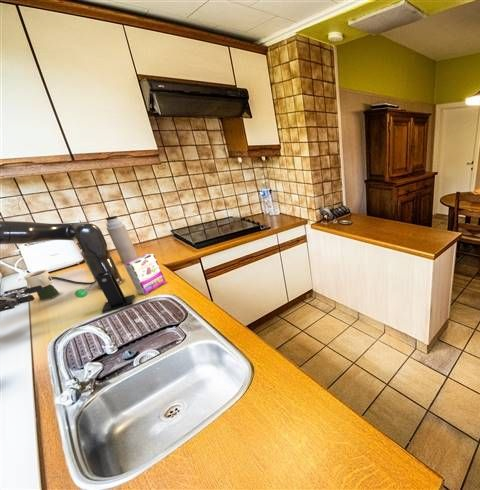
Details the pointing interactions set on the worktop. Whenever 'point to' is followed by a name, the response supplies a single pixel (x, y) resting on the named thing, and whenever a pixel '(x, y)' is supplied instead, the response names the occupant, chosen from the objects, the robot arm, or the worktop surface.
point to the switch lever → (85, 290)
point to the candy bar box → (145, 273)
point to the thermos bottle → (121, 239)
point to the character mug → (42, 284)
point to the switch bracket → (112, 292)
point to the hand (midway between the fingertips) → (38, 292)
